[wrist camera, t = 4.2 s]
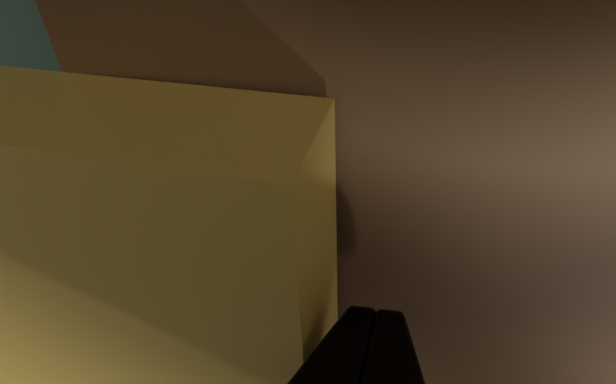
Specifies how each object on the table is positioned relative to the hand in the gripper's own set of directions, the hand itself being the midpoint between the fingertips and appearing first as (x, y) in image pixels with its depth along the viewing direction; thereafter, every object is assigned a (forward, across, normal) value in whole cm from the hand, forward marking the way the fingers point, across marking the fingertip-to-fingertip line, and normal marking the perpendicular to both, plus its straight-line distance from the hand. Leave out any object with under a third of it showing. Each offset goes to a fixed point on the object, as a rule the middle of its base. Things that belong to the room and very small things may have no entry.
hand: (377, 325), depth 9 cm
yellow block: (+1, +5, 0) cm, 5 cm away
